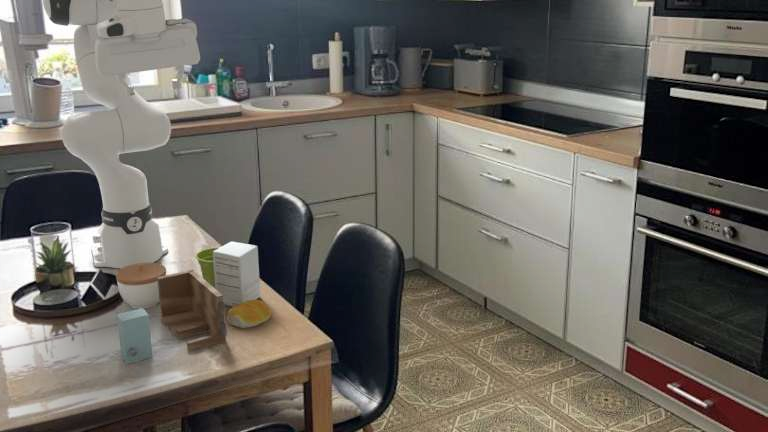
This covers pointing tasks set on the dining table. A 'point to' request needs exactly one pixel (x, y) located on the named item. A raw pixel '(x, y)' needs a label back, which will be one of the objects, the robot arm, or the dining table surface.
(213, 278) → the plant pot
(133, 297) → the lidded jar
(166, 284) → the carcass
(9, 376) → the dining table surface
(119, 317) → the pale teal box
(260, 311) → the bread roll
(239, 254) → the supplement box
